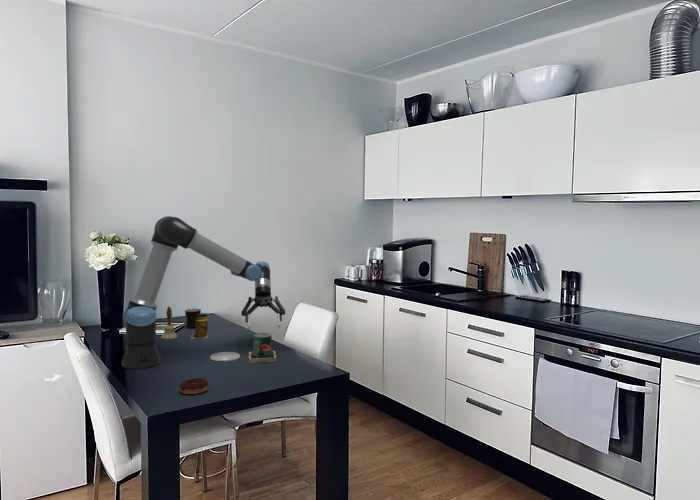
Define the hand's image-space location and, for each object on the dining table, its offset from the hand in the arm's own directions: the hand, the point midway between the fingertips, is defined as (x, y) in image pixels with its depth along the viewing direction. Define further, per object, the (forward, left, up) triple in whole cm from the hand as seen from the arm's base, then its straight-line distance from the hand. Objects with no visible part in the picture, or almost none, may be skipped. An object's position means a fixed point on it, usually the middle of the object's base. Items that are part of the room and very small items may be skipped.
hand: (264, 327), depth 229 cm
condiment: (+21, +45, -13) cm, 52 cm away
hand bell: (+15, +59, -13) cm, 62 cm away
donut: (-52, +4, -13) cm, 54 cm away
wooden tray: (-8, -3, -12) cm, 15 cm away
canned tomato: (-8, -3, -13) cm, 15 cm away
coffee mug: (+40, +60, -13) cm, 73 cm away
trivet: (-10, +14, -12) cm, 21 cm away
